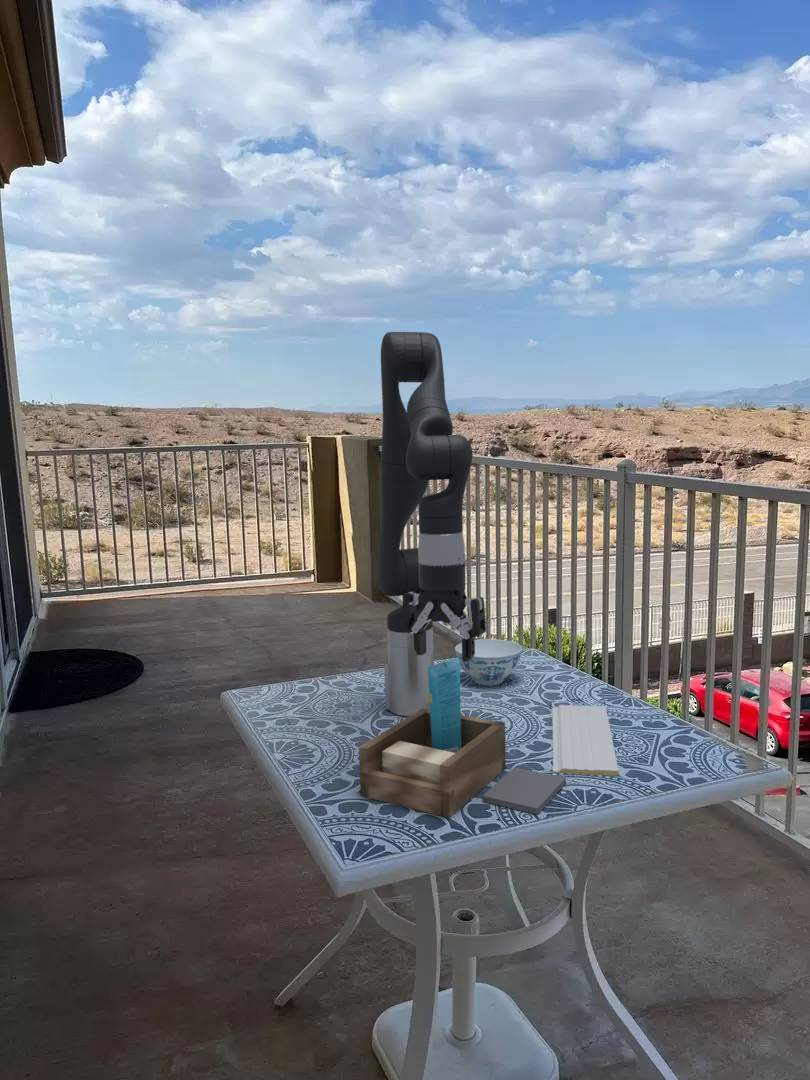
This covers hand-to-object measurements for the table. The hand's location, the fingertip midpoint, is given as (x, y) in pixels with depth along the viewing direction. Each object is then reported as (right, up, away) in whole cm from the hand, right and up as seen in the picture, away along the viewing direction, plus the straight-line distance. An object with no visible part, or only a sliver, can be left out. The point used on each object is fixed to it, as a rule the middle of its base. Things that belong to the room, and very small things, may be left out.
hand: (444, 657), depth 135 cm
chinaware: (+13, -13, +51) cm, 54 cm away
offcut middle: (-4, -19, -5) cm, 20 cm away
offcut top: (-4, -17, -6) cm, 18 cm away
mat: (+13, -21, -5) cm, 25 cm away
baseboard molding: (+25, -18, +16) cm, 35 cm away
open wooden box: (-1, -20, 0) cm, 20 cm away
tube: (+1, -20, +3) cm, 20 cm away
